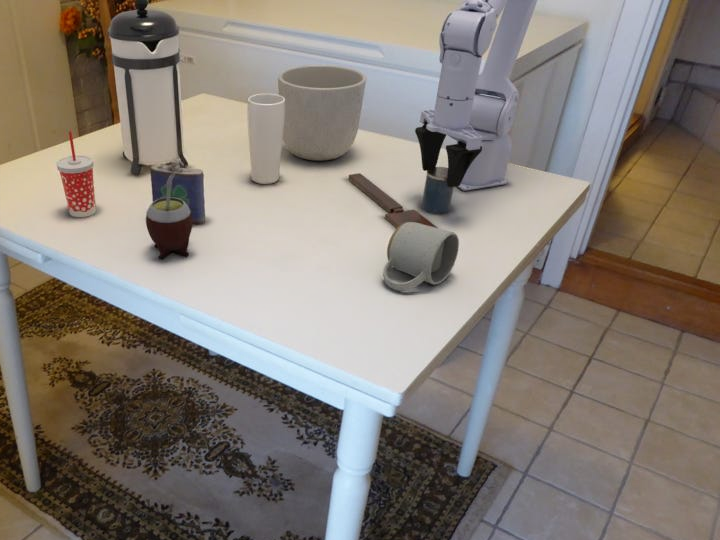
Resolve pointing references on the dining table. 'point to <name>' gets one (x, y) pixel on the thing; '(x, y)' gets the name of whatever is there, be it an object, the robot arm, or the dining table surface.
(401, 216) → the spatula
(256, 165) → the drinking glass
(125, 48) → the coffee press
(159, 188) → the flask
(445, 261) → the ceramic mug
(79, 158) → the beverage cup
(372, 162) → the dining table surface
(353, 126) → the planter
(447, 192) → the tin
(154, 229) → the mate gourd
